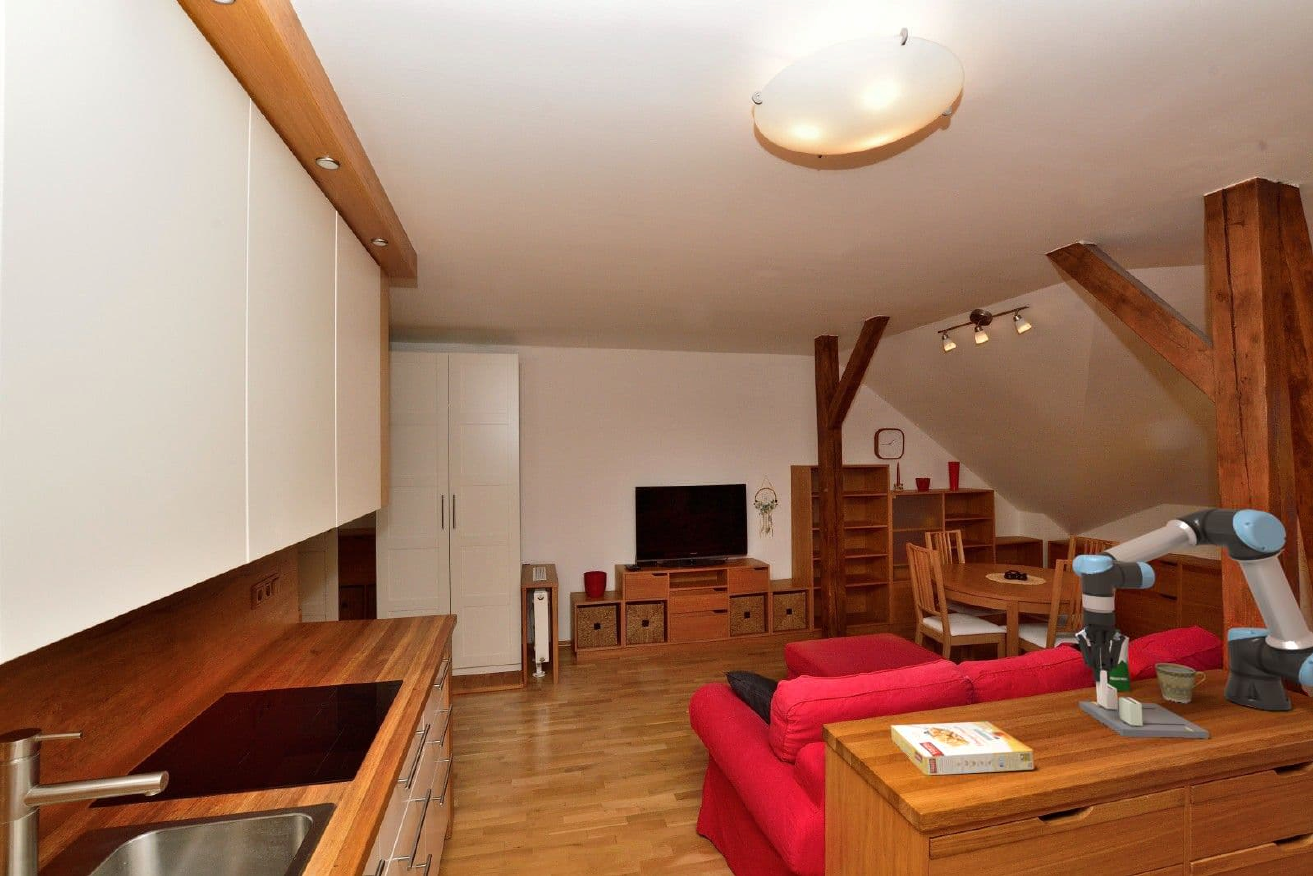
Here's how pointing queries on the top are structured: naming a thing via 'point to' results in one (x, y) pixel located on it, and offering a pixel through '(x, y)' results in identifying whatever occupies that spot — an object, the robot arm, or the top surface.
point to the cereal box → (961, 748)
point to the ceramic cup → (1176, 681)
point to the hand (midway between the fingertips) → (1102, 693)
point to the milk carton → (1121, 668)
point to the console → (1146, 722)
